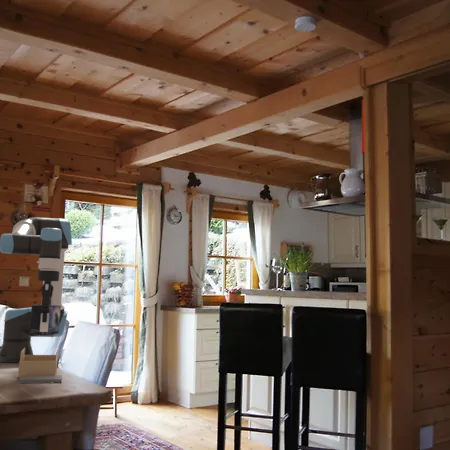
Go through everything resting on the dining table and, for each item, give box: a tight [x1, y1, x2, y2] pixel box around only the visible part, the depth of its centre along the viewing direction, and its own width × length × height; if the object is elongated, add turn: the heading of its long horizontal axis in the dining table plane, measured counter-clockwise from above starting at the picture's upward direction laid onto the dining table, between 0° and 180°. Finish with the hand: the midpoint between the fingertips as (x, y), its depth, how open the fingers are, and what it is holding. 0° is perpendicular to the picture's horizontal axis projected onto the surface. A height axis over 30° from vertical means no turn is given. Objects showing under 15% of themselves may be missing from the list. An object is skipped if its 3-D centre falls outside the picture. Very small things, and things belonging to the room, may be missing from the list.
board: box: [19, 374, 63, 384], centre depth 197 cm, size 10×14×1 cm
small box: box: [29, 304, 61, 335], centre depth 199 cm, size 11×6×10 cm, turn 169°
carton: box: [17, 347, 59, 379], centre depth 212 cm, size 19×13×9 cm
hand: (44, 330), depth 199 cm, fingers closed on small box, 12 cm apart
